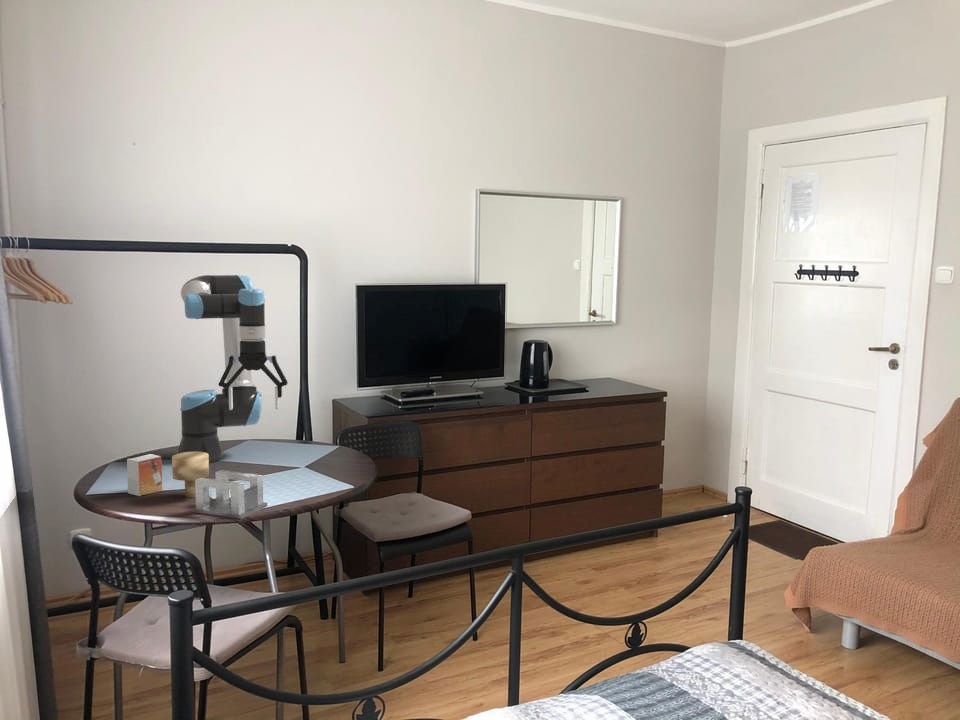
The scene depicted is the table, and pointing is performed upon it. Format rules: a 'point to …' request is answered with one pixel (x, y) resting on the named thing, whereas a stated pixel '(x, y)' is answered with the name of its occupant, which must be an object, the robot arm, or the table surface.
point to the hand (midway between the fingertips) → (254, 408)
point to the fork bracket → (240, 499)
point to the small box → (144, 474)
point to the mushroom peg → (190, 469)
